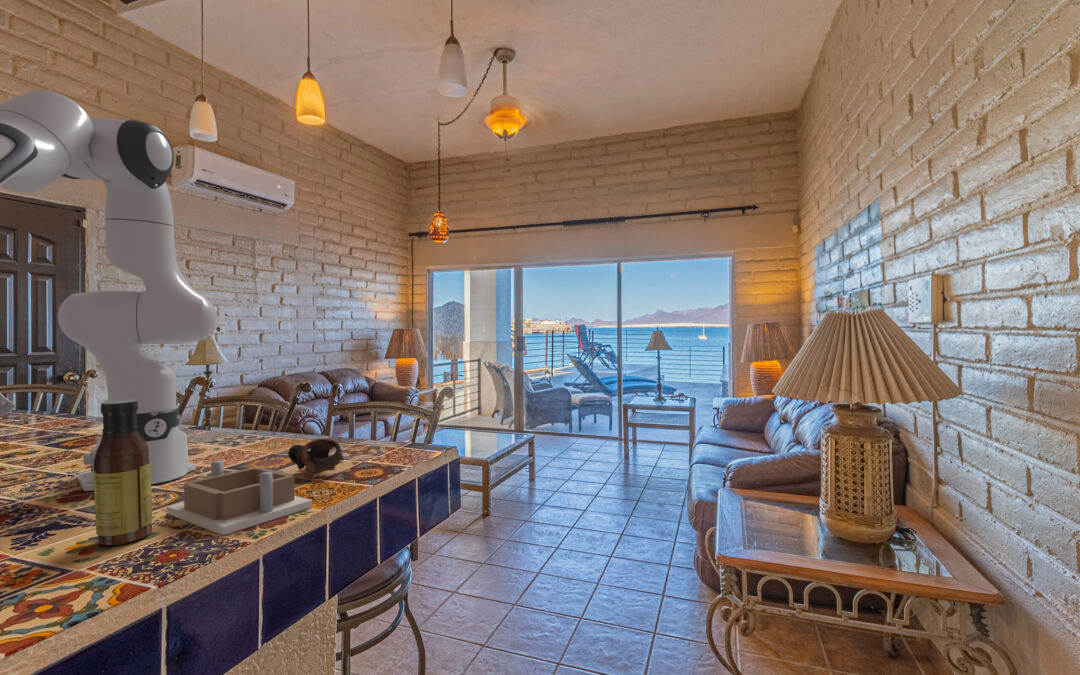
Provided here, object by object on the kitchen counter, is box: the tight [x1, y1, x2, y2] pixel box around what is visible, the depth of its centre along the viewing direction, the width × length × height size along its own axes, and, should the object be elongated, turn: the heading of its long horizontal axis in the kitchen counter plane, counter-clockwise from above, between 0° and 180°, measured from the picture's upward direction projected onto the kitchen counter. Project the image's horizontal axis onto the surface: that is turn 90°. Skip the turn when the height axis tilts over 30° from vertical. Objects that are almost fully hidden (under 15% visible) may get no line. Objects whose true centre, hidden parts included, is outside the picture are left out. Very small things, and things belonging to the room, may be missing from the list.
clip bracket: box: [166, 460, 313, 536], centre depth 82 cm, size 18×14×7 cm
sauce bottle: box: [93, 400, 154, 546], centre depth 71 cm, size 7×6×20 cm
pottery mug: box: [287, 437, 345, 480], centre depth 106 cm, size 12×10×8 cm
